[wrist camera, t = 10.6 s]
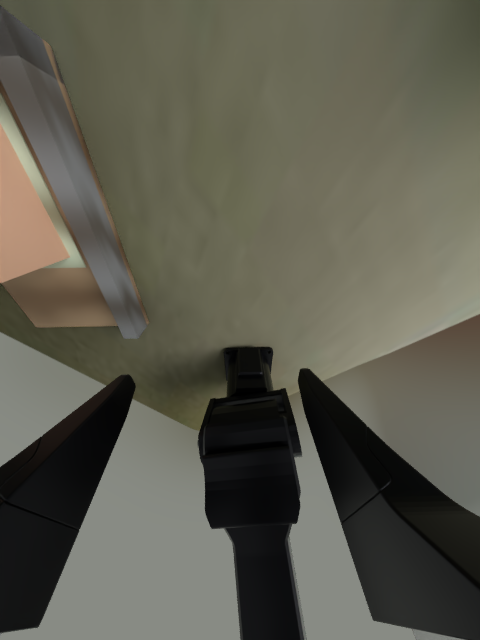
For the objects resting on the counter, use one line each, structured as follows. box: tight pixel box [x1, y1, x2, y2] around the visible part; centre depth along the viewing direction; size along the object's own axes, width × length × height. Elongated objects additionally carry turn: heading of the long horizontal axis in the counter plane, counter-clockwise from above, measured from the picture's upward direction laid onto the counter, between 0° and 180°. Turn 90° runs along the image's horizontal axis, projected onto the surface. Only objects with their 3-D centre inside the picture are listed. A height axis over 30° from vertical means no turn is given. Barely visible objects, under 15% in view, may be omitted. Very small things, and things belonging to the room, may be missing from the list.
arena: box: [0, 6, 149, 339], centre depth 15 cm, size 20×13×3 cm, turn 1°
